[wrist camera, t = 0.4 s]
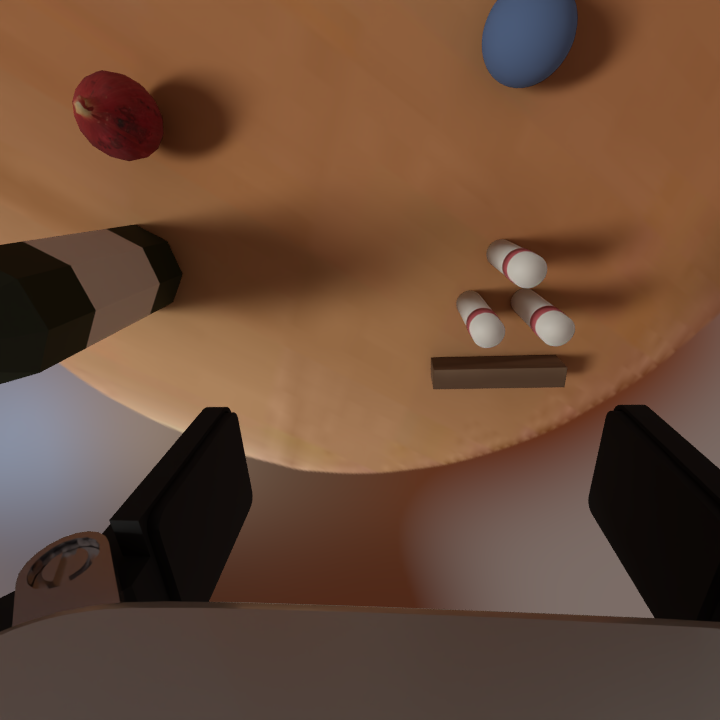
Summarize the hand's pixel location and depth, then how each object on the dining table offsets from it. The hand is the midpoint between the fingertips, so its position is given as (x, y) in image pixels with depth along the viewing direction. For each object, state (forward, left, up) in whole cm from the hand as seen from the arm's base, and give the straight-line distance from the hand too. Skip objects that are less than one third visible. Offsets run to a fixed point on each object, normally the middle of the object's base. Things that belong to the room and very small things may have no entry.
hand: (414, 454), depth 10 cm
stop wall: (+11, +9, -29) cm, 32 cm away
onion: (-12, -21, -30) cm, 38 cm away
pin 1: (+4, +7, -29) cm, 30 cm away
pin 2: (+4, +12, -29) cm, 32 cm away
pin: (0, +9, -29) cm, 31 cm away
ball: (-15, +9, -26) cm, 32 cm away
